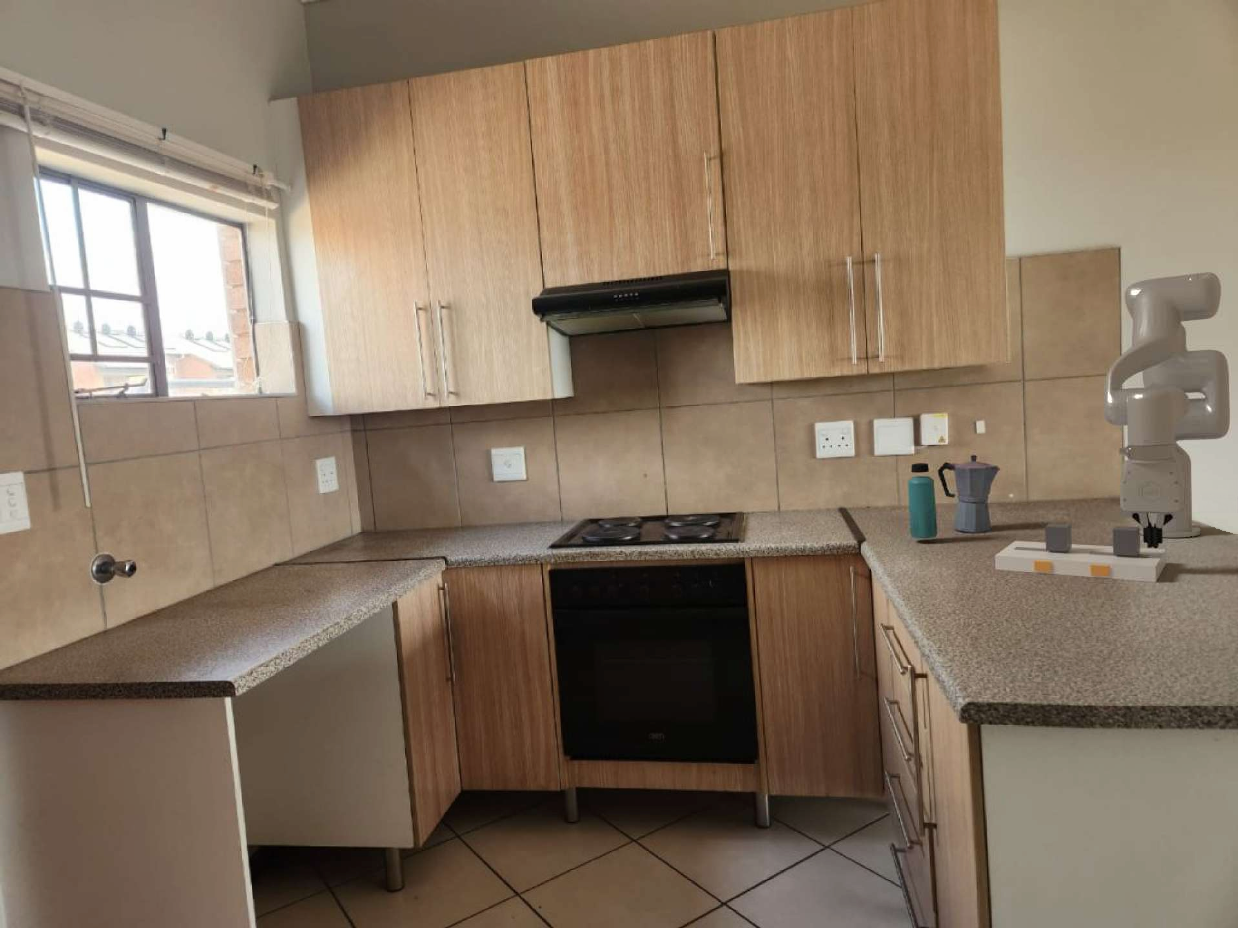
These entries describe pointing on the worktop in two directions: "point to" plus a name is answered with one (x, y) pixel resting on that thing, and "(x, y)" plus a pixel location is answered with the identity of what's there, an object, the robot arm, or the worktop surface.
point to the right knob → (1126, 540)
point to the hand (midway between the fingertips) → (1153, 546)
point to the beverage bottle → (922, 504)
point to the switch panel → (1082, 561)
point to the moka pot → (971, 493)
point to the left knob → (1058, 537)
